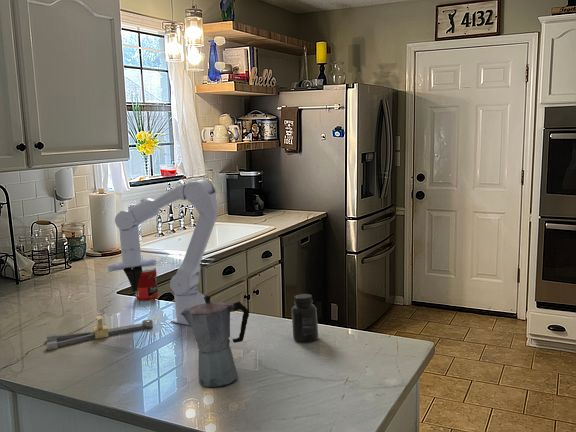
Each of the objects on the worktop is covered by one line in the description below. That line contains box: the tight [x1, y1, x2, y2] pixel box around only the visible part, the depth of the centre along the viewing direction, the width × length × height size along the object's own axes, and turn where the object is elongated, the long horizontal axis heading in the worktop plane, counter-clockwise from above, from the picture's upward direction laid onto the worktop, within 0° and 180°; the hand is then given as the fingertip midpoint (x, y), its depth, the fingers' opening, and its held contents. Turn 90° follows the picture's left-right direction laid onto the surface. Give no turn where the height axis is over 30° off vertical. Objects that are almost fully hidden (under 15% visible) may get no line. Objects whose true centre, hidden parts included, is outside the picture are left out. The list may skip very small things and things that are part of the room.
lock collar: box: [92, 315, 109, 340], centre depth 166 cm, size 4×5×5 cm, turn 23°
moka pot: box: [181, 295, 250, 388], centre depth 130 cm, size 10×15×20 cm, turn 95°
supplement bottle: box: [291, 293, 319, 344], centre depth 154 cm, size 7×7×12 cm
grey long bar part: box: [46, 318, 154, 351], centre depth 167 cm, size 30×9×2 cm, turn 113°
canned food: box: [135, 266, 159, 302], centre depth 205 cm, size 8×8×11 cm
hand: (134, 290), depth 179 cm, fingers closed
